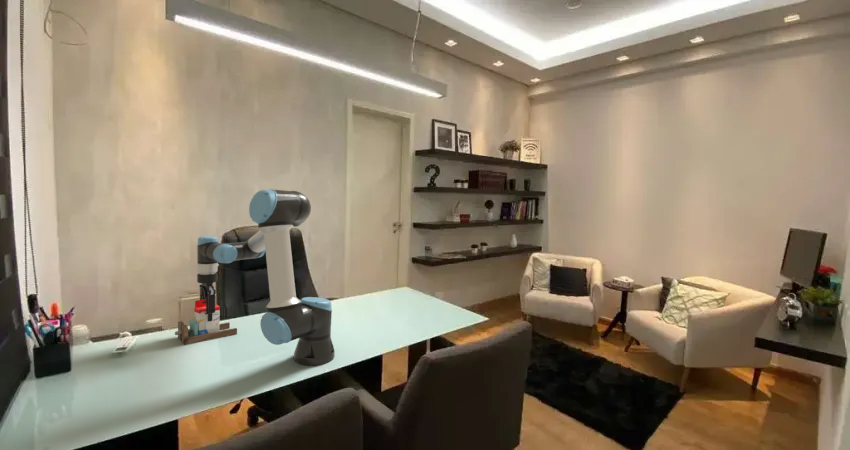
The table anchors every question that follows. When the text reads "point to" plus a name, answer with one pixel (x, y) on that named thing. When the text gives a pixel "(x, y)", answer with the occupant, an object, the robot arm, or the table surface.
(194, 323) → the pusher
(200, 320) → the ink box
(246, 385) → the table surface
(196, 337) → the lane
